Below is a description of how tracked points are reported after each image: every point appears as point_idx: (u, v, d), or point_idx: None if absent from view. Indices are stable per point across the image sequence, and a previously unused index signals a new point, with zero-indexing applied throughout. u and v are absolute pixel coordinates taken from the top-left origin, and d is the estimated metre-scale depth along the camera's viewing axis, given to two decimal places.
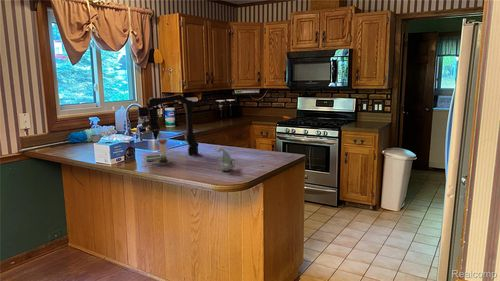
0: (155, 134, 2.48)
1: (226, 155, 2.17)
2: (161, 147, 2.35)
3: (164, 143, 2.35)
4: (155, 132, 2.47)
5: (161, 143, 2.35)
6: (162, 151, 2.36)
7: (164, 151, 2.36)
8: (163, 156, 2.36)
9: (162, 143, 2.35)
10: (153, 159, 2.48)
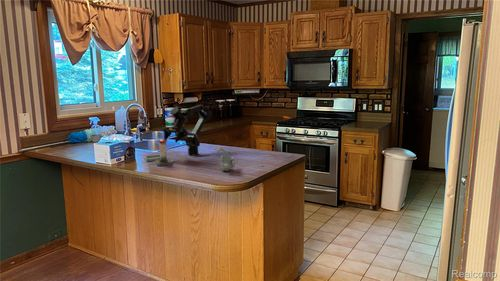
0: None
1: (226, 155, 2.17)
2: (161, 147, 2.35)
3: (164, 143, 2.35)
4: None
5: (161, 143, 2.35)
6: (162, 151, 2.36)
7: (164, 151, 2.36)
8: (163, 156, 2.36)
9: (162, 143, 2.35)
10: (153, 159, 2.48)
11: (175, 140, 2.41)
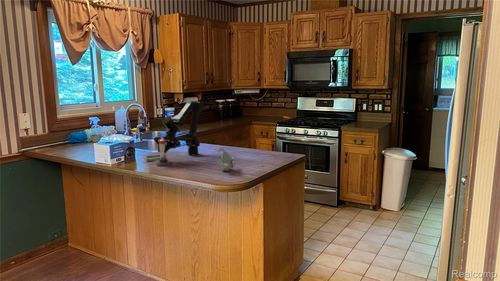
0: None
1: (226, 155, 2.17)
2: (161, 147, 2.35)
3: (164, 143, 2.35)
4: None
5: (161, 143, 2.35)
6: (162, 151, 2.36)
7: None
8: (163, 156, 2.36)
9: (162, 143, 2.35)
10: (153, 159, 2.48)
11: (164, 150, 2.35)
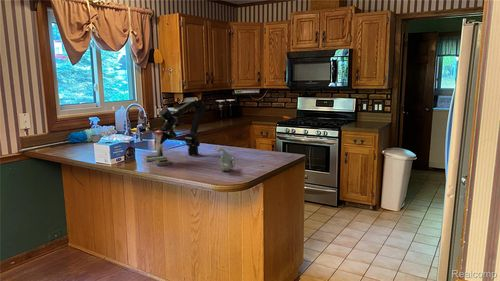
0: None
1: (226, 155, 2.17)
2: (157, 138, 2.37)
3: (160, 134, 2.37)
4: None
5: (157, 134, 2.37)
6: (158, 142, 2.38)
7: None
8: (159, 147, 2.38)
9: (158, 134, 2.37)
10: (153, 159, 2.48)
11: (160, 141, 2.37)
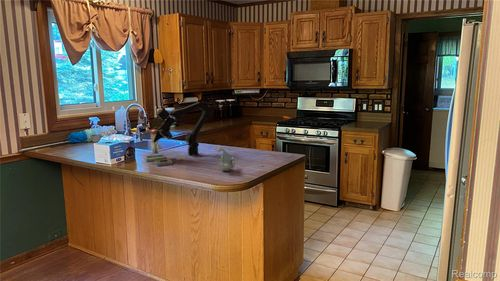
0: None
1: (226, 155, 2.17)
2: (151, 137, 2.49)
3: (154, 133, 2.48)
4: None
5: (151, 133, 2.49)
6: (152, 141, 2.49)
7: None
8: (153, 145, 2.50)
9: (152, 133, 2.48)
10: (153, 159, 2.48)
11: None
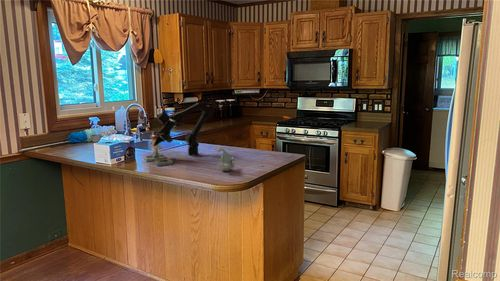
0: None
1: (226, 155, 2.17)
2: (152, 142, 2.50)
3: (154, 138, 2.49)
4: None
5: (152, 138, 2.50)
6: (153, 146, 2.50)
7: (154, 146, 2.50)
8: (154, 151, 2.51)
9: (152, 138, 2.49)
10: (153, 159, 2.48)
11: (154, 144, 2.48)
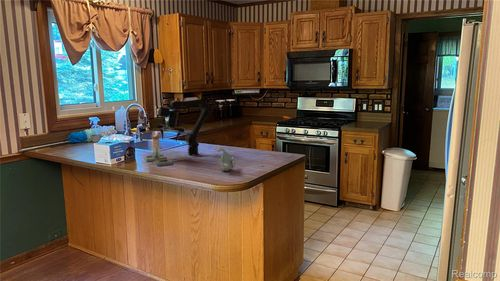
0: None
1: (226, 155, 2.17)
2: (153, 142, 2.50)
3: (155, 139, 2.49)
4: None
5: (153, 138, 2.50)
6: (153, 146, 2.50)
7: (155, 146, 2.50)
8: (154, 151, 2.51)
9: (153, 138, 2.49)
10: (153, 159, 2.48)
11: None
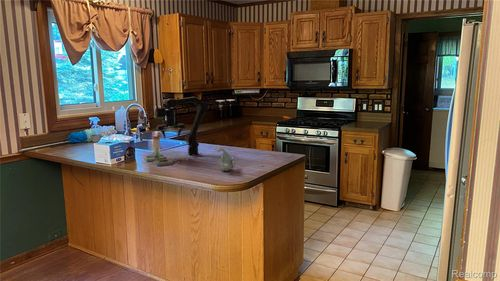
0: (163, 134, 2.54)
1: (226, 155, 2.17)
2: (153, 142, 2.50)
3: (156, 139, 2.49)
4: None
5: (153, 138, 2.50)
6: (154, 146, 2.50)
7: (155, 146, 2.50)
8: (154, 151, 2.51)
9: (154, 138, 2.49)
10: (153, 159, 2.48)
11: (178, 137, 2.58)
